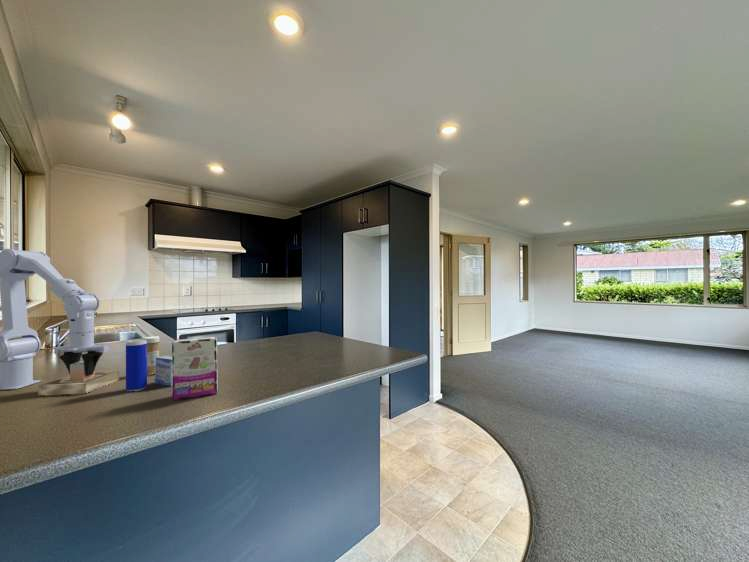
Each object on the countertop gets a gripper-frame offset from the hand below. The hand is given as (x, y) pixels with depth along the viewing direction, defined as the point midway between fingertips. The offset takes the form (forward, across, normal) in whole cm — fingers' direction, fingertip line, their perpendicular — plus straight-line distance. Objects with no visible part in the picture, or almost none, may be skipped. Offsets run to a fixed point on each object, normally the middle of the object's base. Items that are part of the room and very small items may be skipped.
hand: (81, 375), depth 96 cm
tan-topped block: (+2, 0, 0) cm, 2 cm away
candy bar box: (+4, +40, -11) cm, 42 cm away
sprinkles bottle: (+4, +13, +13) cm, 19 cm away
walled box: (+4, 0, 0) cm, 4 cm away
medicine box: (+4, +26, +1) cm, 26 cm away
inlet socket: (+4, 0, 0) cm, 4 cm away
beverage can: (+4, +19, -4) cm, 20 cm away
